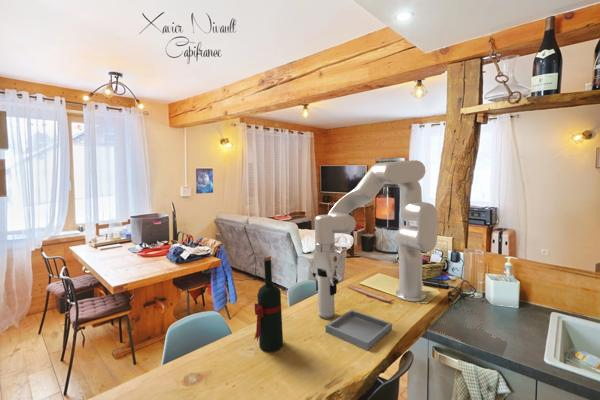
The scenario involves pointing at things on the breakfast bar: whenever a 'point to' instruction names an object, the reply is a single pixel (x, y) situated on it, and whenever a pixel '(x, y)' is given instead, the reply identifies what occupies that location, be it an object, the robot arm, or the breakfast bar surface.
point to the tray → (359, 329)
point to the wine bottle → (269, 313)
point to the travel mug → (325, 296)
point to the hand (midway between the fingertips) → (326, 291)
